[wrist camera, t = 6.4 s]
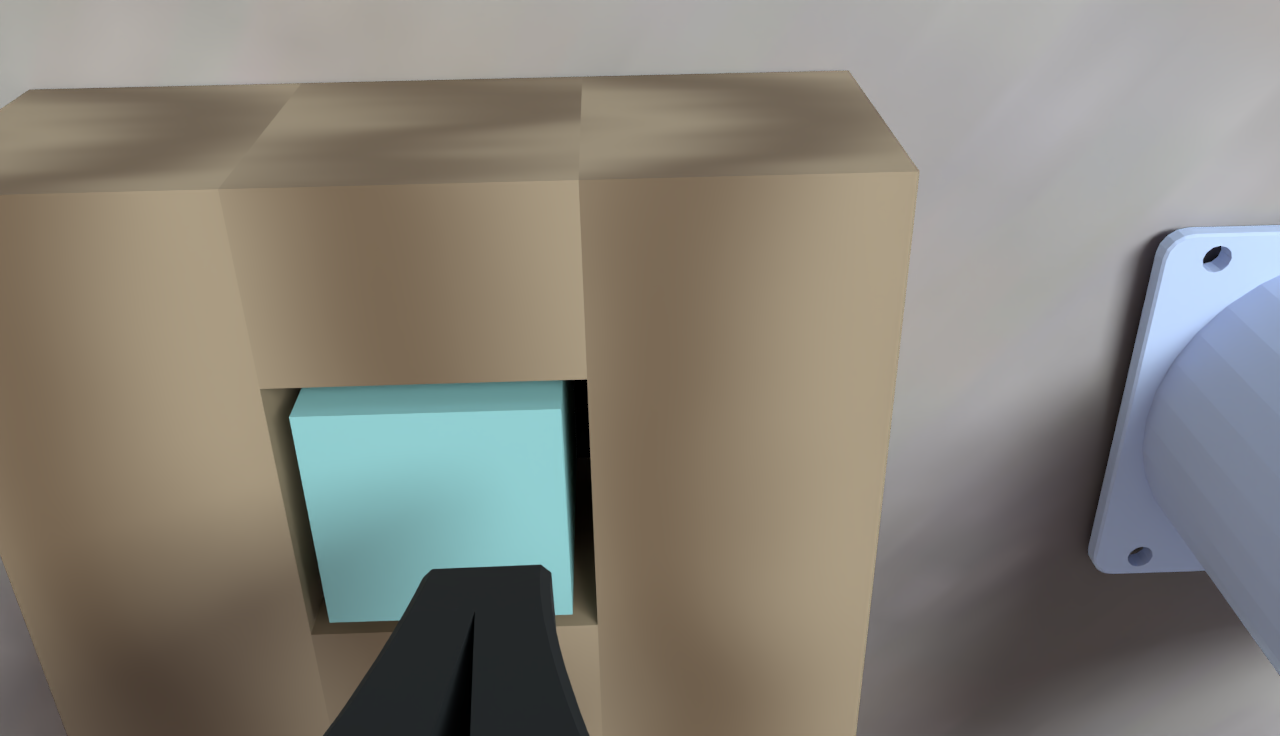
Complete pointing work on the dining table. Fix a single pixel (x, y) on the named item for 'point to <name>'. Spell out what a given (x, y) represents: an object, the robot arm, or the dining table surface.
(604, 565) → the socket block
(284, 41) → the dining table surface
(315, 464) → the peg square
